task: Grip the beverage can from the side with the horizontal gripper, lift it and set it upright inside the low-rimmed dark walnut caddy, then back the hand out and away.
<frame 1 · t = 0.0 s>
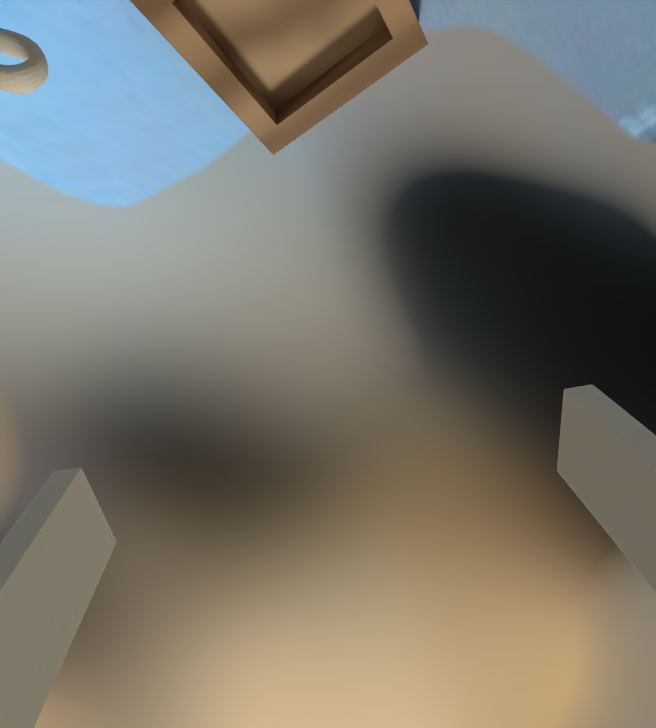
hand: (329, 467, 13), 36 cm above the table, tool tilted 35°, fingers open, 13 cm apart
walnut caddy: (284, 0, 34), on the table
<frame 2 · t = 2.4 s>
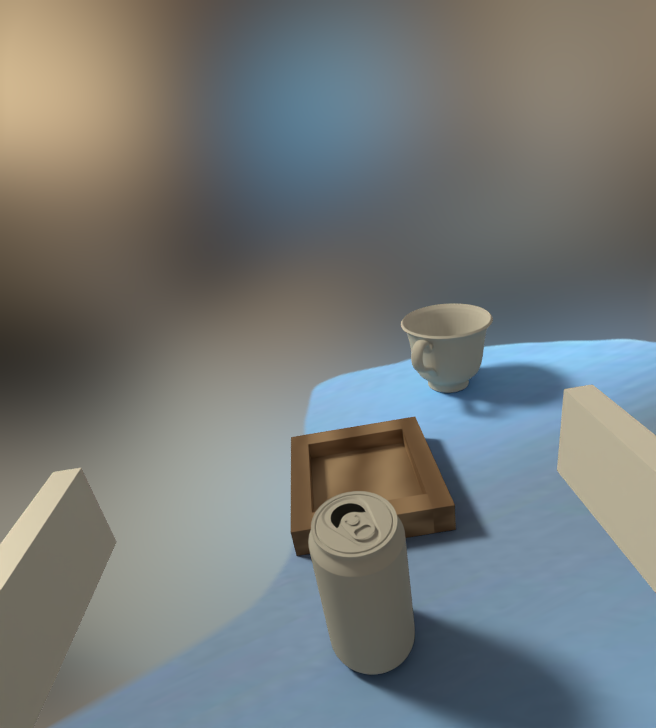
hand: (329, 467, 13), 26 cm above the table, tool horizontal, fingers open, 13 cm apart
walnut caddy: (364, 488, 50), on the table
beverage can: (373, 638, 35), on the table
teacup: (443, 388, 66), on the table
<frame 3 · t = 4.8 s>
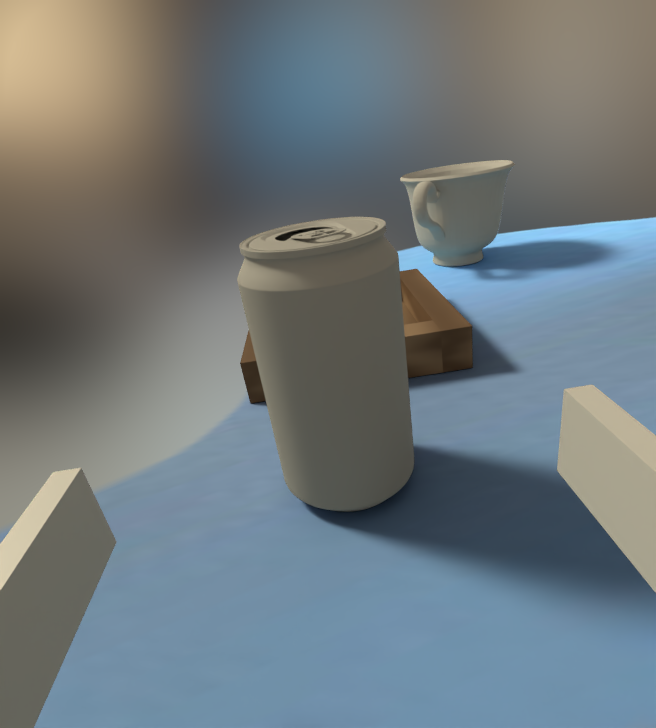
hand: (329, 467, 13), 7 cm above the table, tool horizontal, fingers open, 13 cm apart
walnut caddy: (349, 342, 38), on the table
beverage can: (351, 478, 23), on the table
teacup: (452, 264, 54), on the table
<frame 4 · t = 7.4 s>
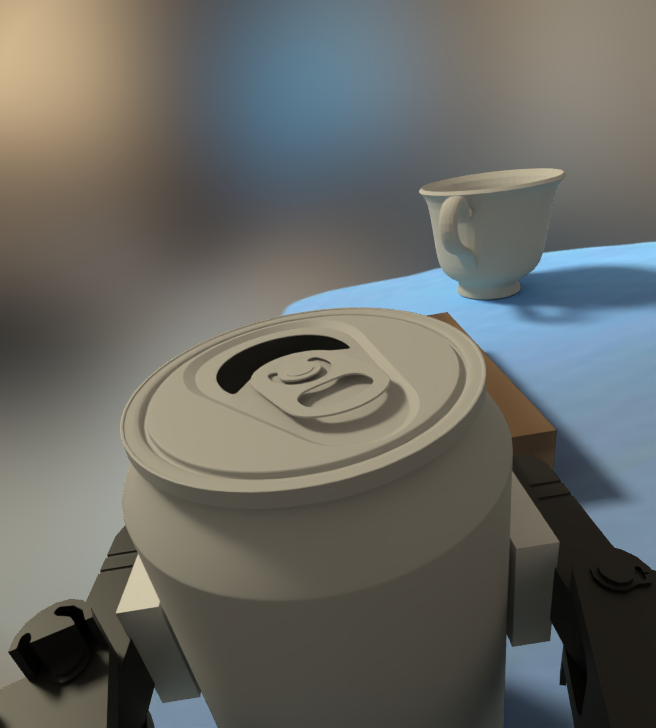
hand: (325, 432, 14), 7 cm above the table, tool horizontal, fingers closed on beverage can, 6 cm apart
walnut caddy: (361, 421, 27), on the table
teacup: (482, 296, 44), on the table
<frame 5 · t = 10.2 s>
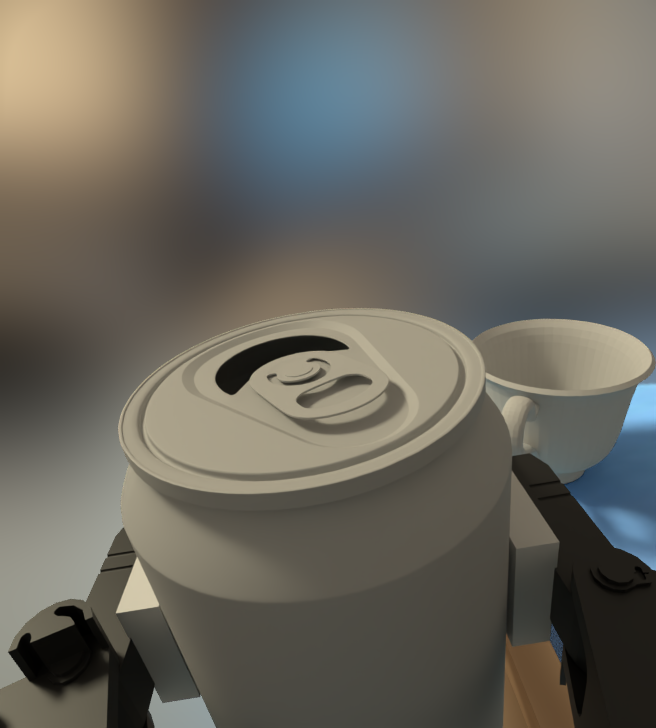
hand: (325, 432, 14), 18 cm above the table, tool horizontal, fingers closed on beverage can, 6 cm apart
teacup: (539, 473, 36), on the table
when the fingers open (8 cm above the table, at t = 13.2 s): beverage can stays where it is, resting on walnut caddy.
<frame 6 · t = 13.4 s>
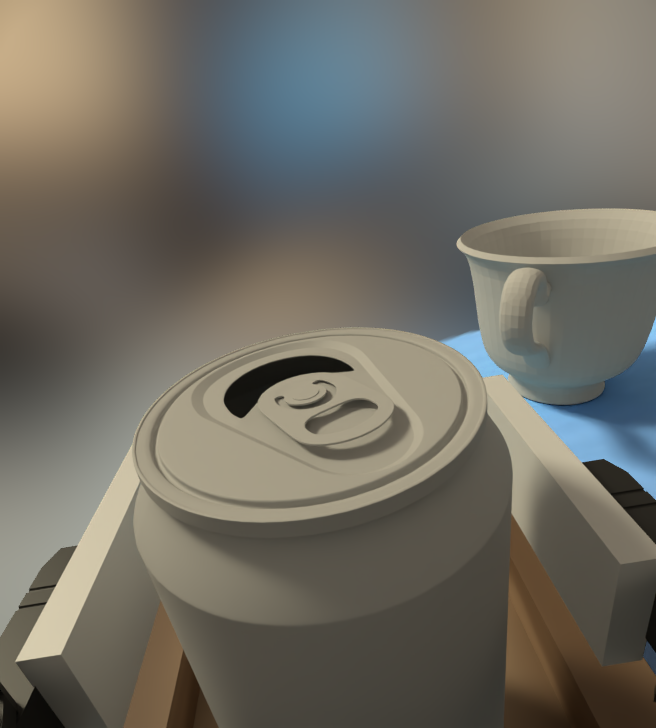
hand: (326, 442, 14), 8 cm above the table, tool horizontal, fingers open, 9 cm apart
teacup: (548, 395, 30), on the table
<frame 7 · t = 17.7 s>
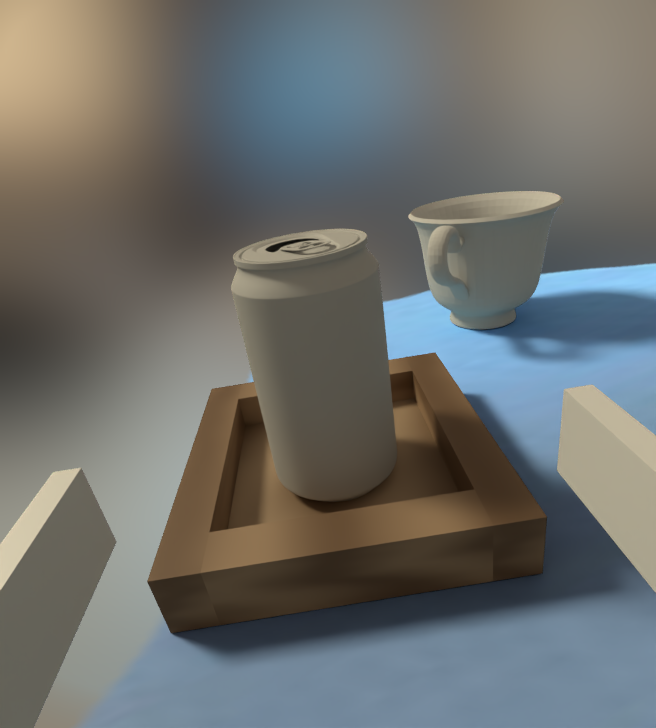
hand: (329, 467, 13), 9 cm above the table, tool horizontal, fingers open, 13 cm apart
walnut caddy: (339, 480, 25), on the table
beverage can: (338, 471, 25), point 1 cm above the table, touching walnut caddy
teacup: (476, 325, 41), on the table
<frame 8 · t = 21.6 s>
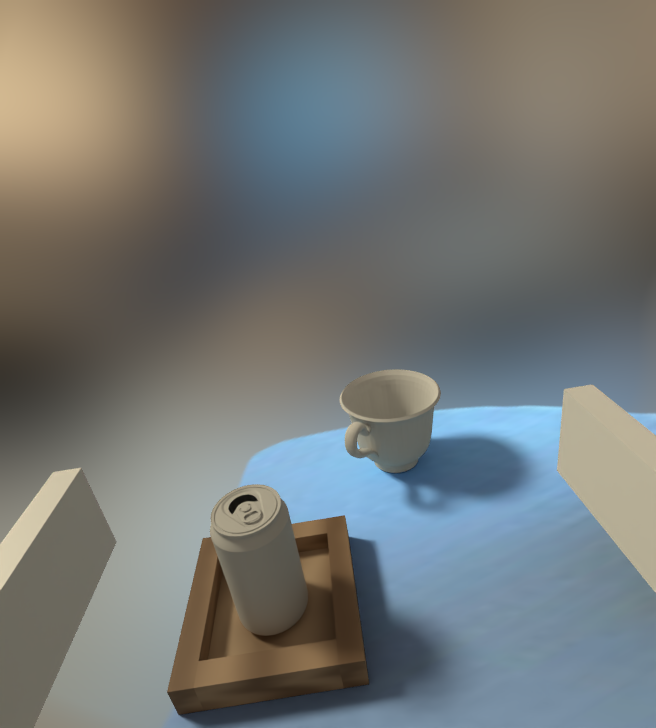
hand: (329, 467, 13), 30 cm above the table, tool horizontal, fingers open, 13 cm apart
walnut caddy: (277, 611, 43), on the table
beverage can: (275, 608, 42), point 1 cm above the table, touching walnut caddy
teacup: (390, 466, 59), on the table
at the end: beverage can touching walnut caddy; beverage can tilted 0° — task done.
